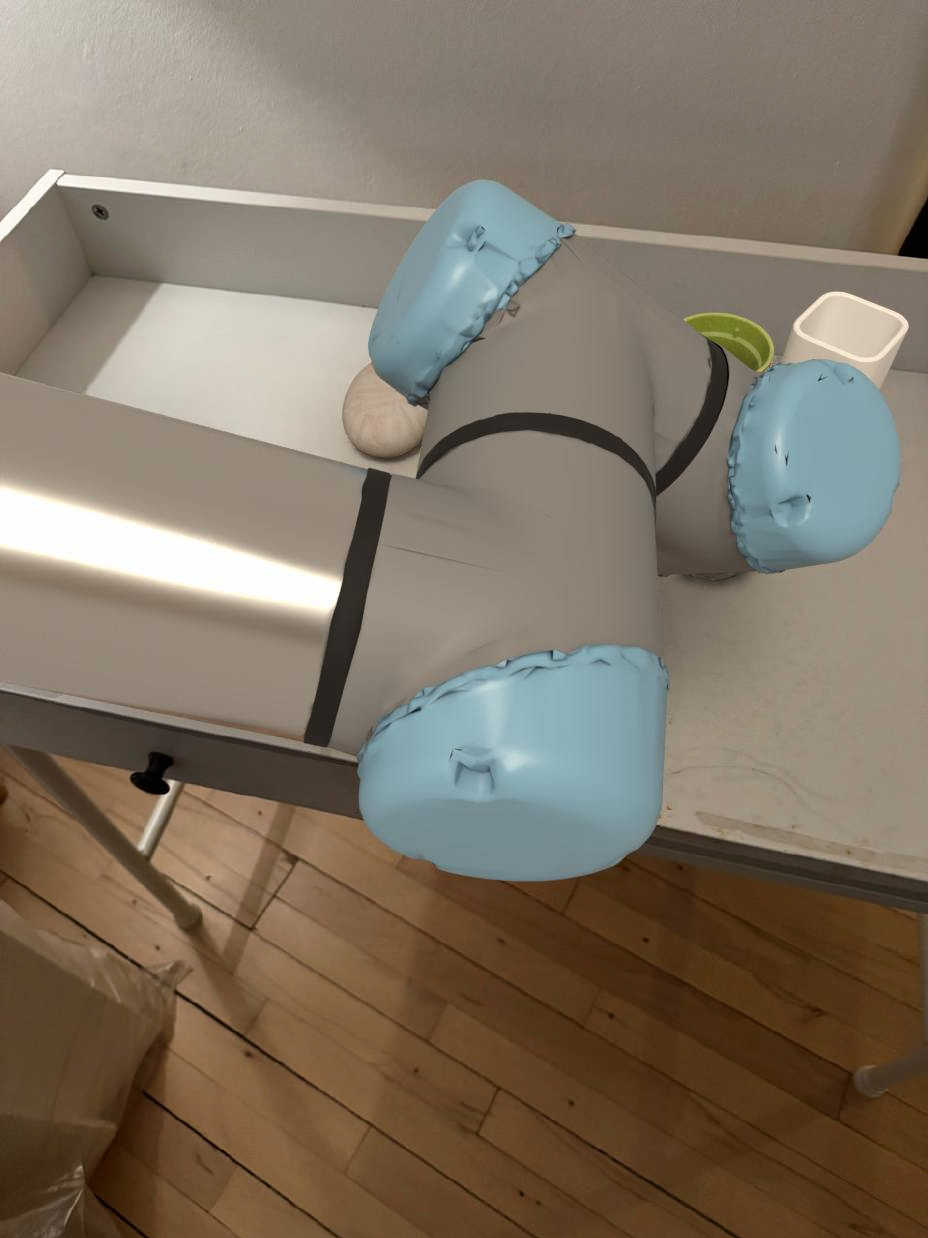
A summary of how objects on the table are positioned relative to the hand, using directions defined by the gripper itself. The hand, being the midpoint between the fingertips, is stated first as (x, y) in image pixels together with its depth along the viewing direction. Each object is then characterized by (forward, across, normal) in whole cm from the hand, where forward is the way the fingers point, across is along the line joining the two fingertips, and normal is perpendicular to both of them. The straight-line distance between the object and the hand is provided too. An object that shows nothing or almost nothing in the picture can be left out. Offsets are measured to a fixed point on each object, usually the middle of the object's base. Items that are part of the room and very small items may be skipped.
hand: (409, 543), depth 64 cm
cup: (-4, +35, -15) cm, 38 cm away
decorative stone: (+18, +13, +7) cm, 23 cm away
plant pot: (+3, +34, -8) cm, 35 cm away
